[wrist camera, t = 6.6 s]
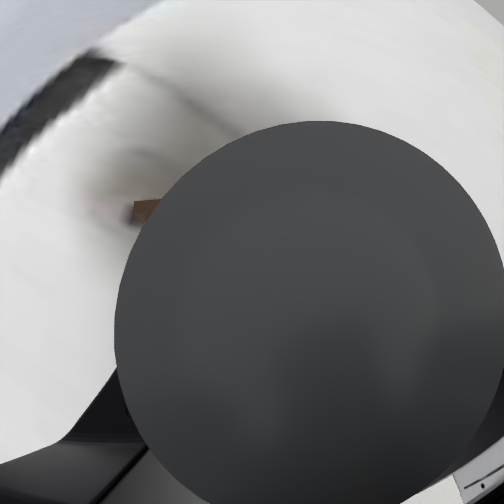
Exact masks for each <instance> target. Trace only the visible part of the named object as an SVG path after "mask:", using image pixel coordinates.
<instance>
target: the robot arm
mask: <svg viewBox="0 0 504 504" xmlns="http://www.w3.org/2000/svg"><path fill="white" fill-rule="evenodd" d="M451 475H453V477H454V480H455V482H456V484H457V487H458V489H459V491H460V496H461V498H462V500H463V503H464V504H504V368H503V372H502V376H501V379H500V382H499V385H498V388H497V391H496V394H495V396H494V399H493V401H492V403H491V406H490V408H489V410H488V412H487V414H486V416H485V418H484V420H483V422H482V423H481V425H480V427H479V428H478V430H477V431H476V433H475V435H474V436H473V438H472V439H471V441H470V442H469V443H468V445H467V446H466V447H465V448H464V450H463V451H462V452H461V453H460V455H459V456H458V457H457V458H456V460H455V461H454V462H453V463H452V464H451V465H450V466H449V467H448V468H447V469H446V470H445V471H444V472H443V473H442V474H441V475H440V476H438V477H437V478H436V479H435V480H434V481H432V482H431V483H430V484H429V485H427V486H426V487H425V488H424V489H422V490H421V491H423V490H425V489H427V488H429V487H431V486H433V485H435V484H437V483H438V482H440V481H442V480H444V479H446V478H447V477H449V476H451ZM421 491H420V492H421ZM418 493H419V492H418ZM0 504H208V502H206V501H204V500H202V499H201V498H199V497H198V496H196V495H195V494H194V493H192V492H191V491H190V490H189V489H187V488H186V487H185V486H183V485H182V484H181V483H180V482H178V481H177V480H176V479H175V478H174V477H173V476H172V475H171V474H170V473H169V472H168V471H167V469H166V468H165V467H164V466H163V465H162V464H161V463H160V462H159V461H158V460H157V458H156V457H155V456H154V454H153V453H152V451H151V450H150V448H149V447H148V446H147V444H146V443H145V441H144V440H143V438H142V437H141V435H140V433H139V431H138V429H137V427H136V425H135V423H134V421H133V419H132V417H131V415H130V412H129V410H128V408H127V405H126V402H125V398H124V395H123V392H122V389H121V385H120V382H119V377H118V371H117V367H116V369H115V370H114V372H113V373H112V375H111V376H110V378H109V380H108V381H107V382H106V384H105V385H104V387H103V388H102V389H101V391H100V392H99V393H98V395H97V396H96V397H95V399H94V400H93V401H92V403H91V404H90V405H89V407H88V408H87V409H86V410H85V412H84V413H83V414H82V416H81V417H80V418H79V420H78V421H77V422H76V424H75V425H74V426H73V428H72V429H71V430H70V431H69V432H68V433H67V434H66V435H65V436H64V437H63V438H62V439H61V440H59V441H58V442H56V443H54V444H52V445H50V446H47V447H45V448H42V449H40V450H37V451H35V452H32V453H30V454H27V455H24V456H22V457H19V458H16V459H14V460H11V461H8V462H5V463H2V464H0Z"/></svg>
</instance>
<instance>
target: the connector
mask: <svg viewBox="0 0 504 504" xmlns="http://www.w3.org/2000/svg"><path fill="white" fill-rule="evenodd" d="M114 349H115V357H116V364H117V371H118V377H119V382H120V385H121V389H122V392H123V395H124V398H125V402H126V405H127V408H128V410H129V412H130V415H131V417H132V419H133V421H134V423H135V425H136V427H137V429H138V431H139V433H140V435H141V437H142V438H143V440H144V441H145V443H146V444H147V446H148V447H149V448H150V450H151V451H152V453H153V454H154V456H155V457H156V458H157V460H158V461H159V462H160V463H161V464H162V465H163V466H164V467H165V468H166V469H167V471H168V472H169V473H170V474H171V475H172V476H173V477H174V478H175V479H176V480H177V481H178V482H180V483H181V484H182V485H183V486H185V487H186V488H187V489H189V490H190V491H191V492H192V493H194V494H195V495H196V496H198V497H199V498H201V499H202V500H204V501H206V502H208V503H209V504H400V503H402V502H404V501H405V500H407V499H409V498H410V497H412V496H413V495H415V494H417V493H418V492H420V491H421V490H422V489H424V488H425V487H426V486H427V485H429V484H430V483H431V482H432V481H434V480H435V479H436V478H437V477H438V476H440V475H441V474H442V473H443V472H444V471H445V470H446V469H447V468H448V467H449V466H450V465H451V464H452V463H453V462H454V461H455V460H456V458H457V457H458V456H459V455H460V453H461V452H462V451H463V450H464V448H465V447H466V446H467V445H468V443H469V442H470V441H471V439H472V438H473V436H474V435H475V433H476V431H477V430H478V428H479V427H480V425H481V423H482V422H483V420H484V418H485V416H486V414H487V412H488V410H489V408H490V406H491V403H492V401H493V399H494V396H495V394H496V391H497V388H498V385H499V382H500V379H501V376H502V372H503V368H504V268H503V263H502V260H501V257H500V254H499V251H498V248H497V245H496V242H495V240H494V238H493V235H492V233H491V231H490V229H489V227H488V225H487V223H486V221H485V219H484V217H483V216H482V214H481V212H480V211H479V209H478V208H477V206H476V204H475V203H474V201H473V200H472V199H471V197H470V196H469V195H468V194H467V192H466V191H465V190H464V189H463V187H462V186H461V185H460V184H459V183H458V182H457V180H456V179H455V178H454V177H452V176H451V175H450V174H449V173H448V172H447V171H446V170H445V169H444V168H443V167H442V166H441V165H440V164H438V163H437V162H436V161H434V160H433V159H432V158H431V157H429V156H428V155H427V154H425V153H424V152H422V151H421V150H419V149H417V148H416V147H414V146H412V145H410V144H409V143H407V142H405V141H403V140H401V139H399V138H396V137H394V136H392V135H389V134H387V133H385V132H382V131H379V130H375V129H372V128H368V127H365V126H361V125H357V124H350V123H343V122H335V121H305V122H297V123H289V124H282V125H278V126H274V127H271V128H267V129H264V130H260V131H257V132H254V133H251V134H249V135H247V136H244V137H242V138H240V139H238V140H235V141H233V142H231V143H229V144H227V145H225V146H224V147H222V148H220V149H219V150H217V151H216V152H214V153H212V154H211V155H209V156H207V157H206V158H204V159H203V160H202V161H201V162H199V163H198V164H197V165H196V166H195V167H193V168H192V169H191V170H190V171H189V172H187V173H186V174H185V175H184V176H183V177H181V178H180V180H179V181H178V182H177V183H176V184H175V185H174V186H173V187H172V188H171V189H170V190H169V192H168V193H167V194H166V195H165V196H164V197H163V198H162V199H161V201H160V202H159V203H158V205H157V206H156V208H155V209H154V211H153V212H152V214H151V215H150V217H149V218H148V220H147V221H146V223H145V224H144V226H143V227H142V229H141V232H140V234H139V236H138V238H137V240H136V242H135V244H134V246H133V248H132V250H131V252H130V254H129V257H128V260H127V263H126V266H125V270H124V273H123V276H122V279H121V283H120V286H119V292H118V298H117V304H116V311H115V324H114Z"/></svg>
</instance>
